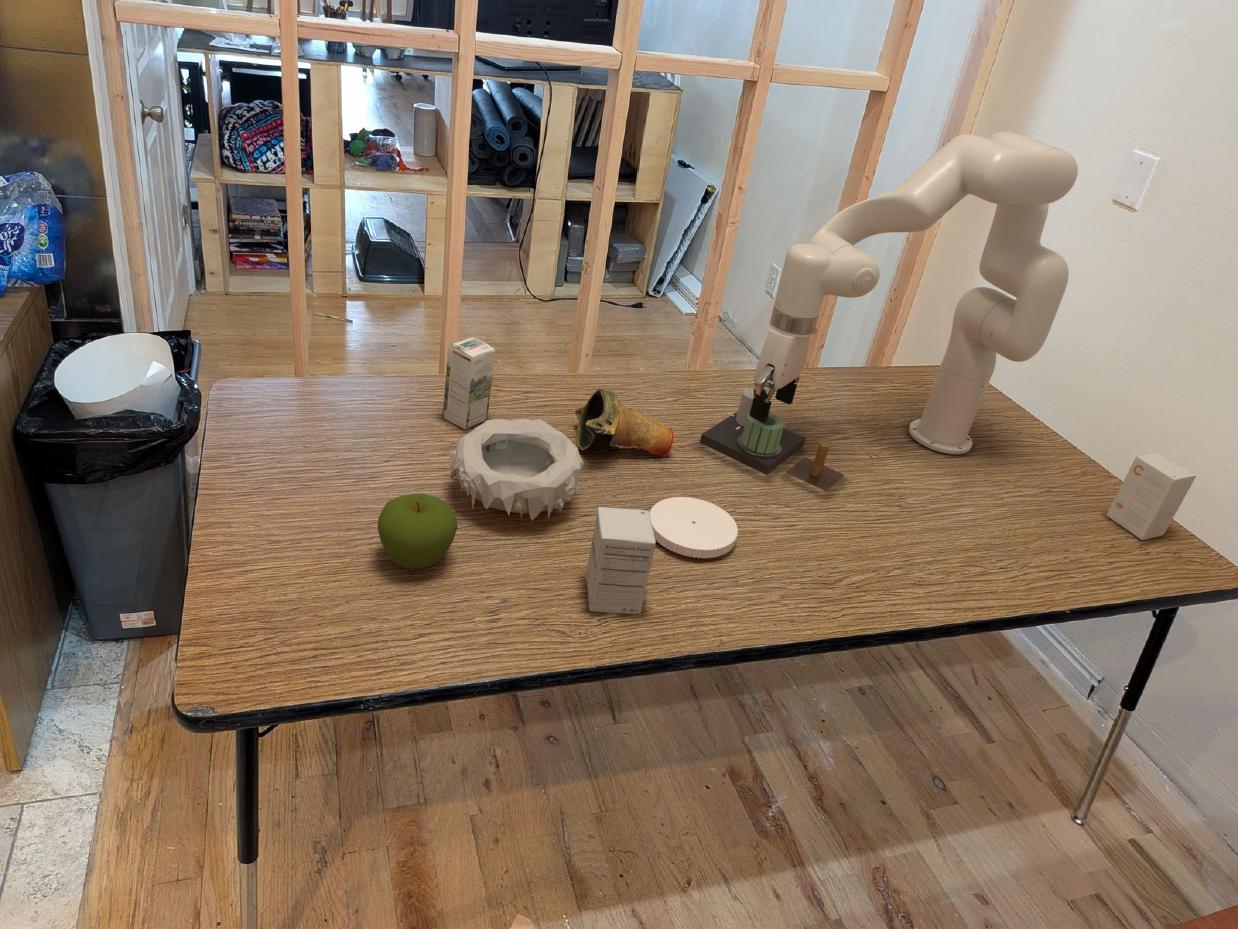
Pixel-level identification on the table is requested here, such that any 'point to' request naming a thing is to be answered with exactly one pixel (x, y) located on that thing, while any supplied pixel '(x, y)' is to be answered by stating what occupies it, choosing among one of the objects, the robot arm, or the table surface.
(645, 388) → the table surface
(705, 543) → the plastic lid
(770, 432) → the ring
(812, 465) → the peg stand
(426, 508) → the apple
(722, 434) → the hob
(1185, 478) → the small box
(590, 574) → the white packaging box
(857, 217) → the robot arm
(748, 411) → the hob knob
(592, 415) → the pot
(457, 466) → the bowl
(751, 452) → the burner
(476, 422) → the syrup box
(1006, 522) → the table surface
